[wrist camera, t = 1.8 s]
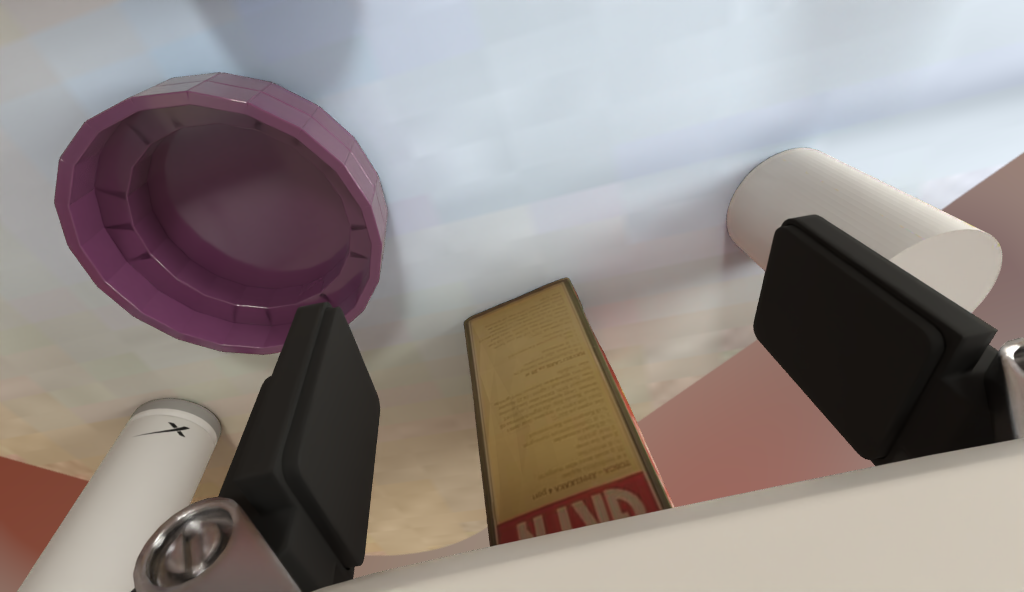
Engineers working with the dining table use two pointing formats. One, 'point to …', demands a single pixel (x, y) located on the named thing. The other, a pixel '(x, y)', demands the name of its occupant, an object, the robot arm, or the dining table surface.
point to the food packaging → (553, 421)
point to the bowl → (222, 210)
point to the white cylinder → (864, 222)
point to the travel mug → (128, 499)
